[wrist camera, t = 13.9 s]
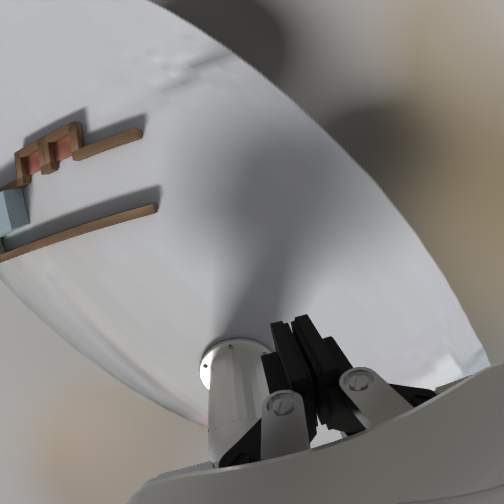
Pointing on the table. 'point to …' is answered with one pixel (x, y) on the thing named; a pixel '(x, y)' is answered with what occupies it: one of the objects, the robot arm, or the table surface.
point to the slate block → (12, 211)
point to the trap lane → (45, 159)
